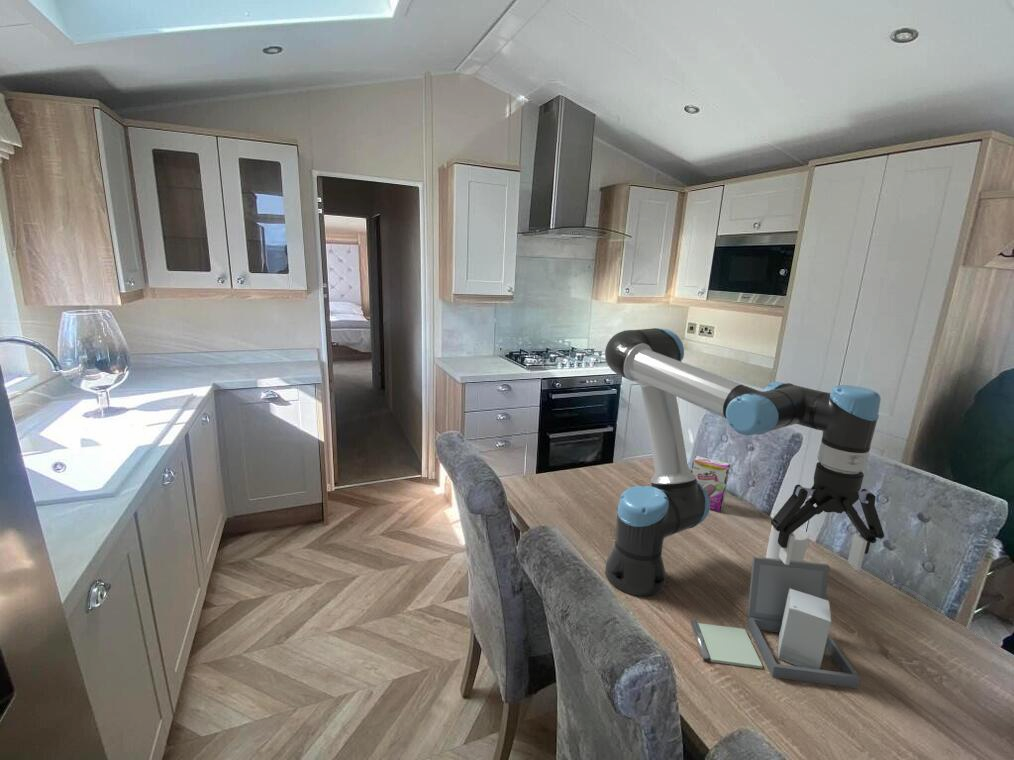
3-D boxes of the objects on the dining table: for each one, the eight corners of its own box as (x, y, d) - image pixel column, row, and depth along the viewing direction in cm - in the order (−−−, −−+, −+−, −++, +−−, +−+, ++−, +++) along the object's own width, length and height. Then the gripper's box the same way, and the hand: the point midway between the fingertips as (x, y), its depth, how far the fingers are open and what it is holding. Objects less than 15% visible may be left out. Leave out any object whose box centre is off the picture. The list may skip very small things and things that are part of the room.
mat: (710, 661, 95) (711, 659, 95) (697, 625, 105) (698, 623, 104) (762, 668, 94) (762, 666, 94) (744, 631, 103) (744, 629, 103)
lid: (754, 558, 103) (753, 556, 104) (749, 616, 104) (747, 614, 105) (829, 566, 101) (827, 564, 102) (823, 625, 102) (821, 623, 103)
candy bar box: (686, 503, 159) (692, 459, 155) (689, 498, 163) (695, 454, 159) (721, 513, 153) (728, 468, 150) (723, 507, 158) (730, 462, 154)
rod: (702, 660, 95) (702, 655, 95) (689, 624, 105) (690, 619, 104) (709, 661, 95) (710, 655, 95) (696, 625, 105) (697, 620, 104)
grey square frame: (772, 677, 92) (774, 666, 91) (747, 625, 105) (748, 616, 104) (857, 688, 90) (860, 678, 89) (820, 635, 103) (823, 625, 102)
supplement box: (819, 676, 93) (832, 622, 90) (776, 658, 96) (787, 607, 93) (818, 651, 99) (830, 600, 96) (778, 636, 102) (788, 586, 99)
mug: (818, 570, 126) (826, 535, 123) (783, 577, 122) (791, 541, 120) (791, 552, 134) (798, 519, 131) (758, 558, 130) (764, 524, 128)
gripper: (782, 470, 86) (763, 570, 91) (924, 479, 84) (897, 580, 89) (763, 454, 93) (747, 547, 98) (894, 462, 92) (870, 557, 97)
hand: (818, 563), depth 94 cm, fingers open, 13 cm apart
